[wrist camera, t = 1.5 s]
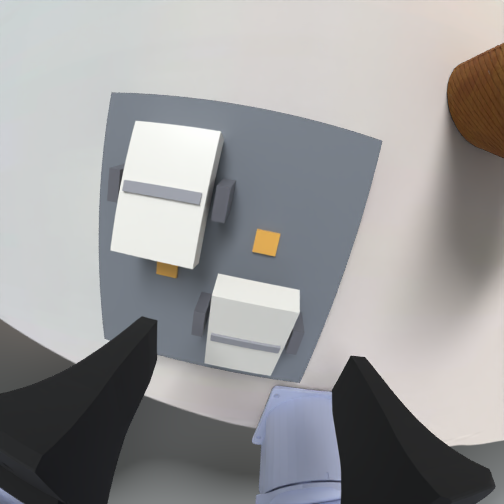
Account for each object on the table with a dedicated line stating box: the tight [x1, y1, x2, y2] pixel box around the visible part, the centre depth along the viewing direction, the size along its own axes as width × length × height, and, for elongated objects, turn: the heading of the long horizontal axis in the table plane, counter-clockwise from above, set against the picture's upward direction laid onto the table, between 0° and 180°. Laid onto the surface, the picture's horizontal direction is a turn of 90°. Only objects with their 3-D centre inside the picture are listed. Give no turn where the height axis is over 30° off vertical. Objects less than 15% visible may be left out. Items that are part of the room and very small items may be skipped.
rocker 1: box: [110, 121, 224, 269], centre depth 13 cm, size 6×4×2 cm, turn 169°
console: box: [99, 93, 382, 383], centre depth 17 cm, size 16×14×5 cm
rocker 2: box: [204, 273, 300, 376], centre depth 16 cm, size 6×4×2 cm, turn 169°
